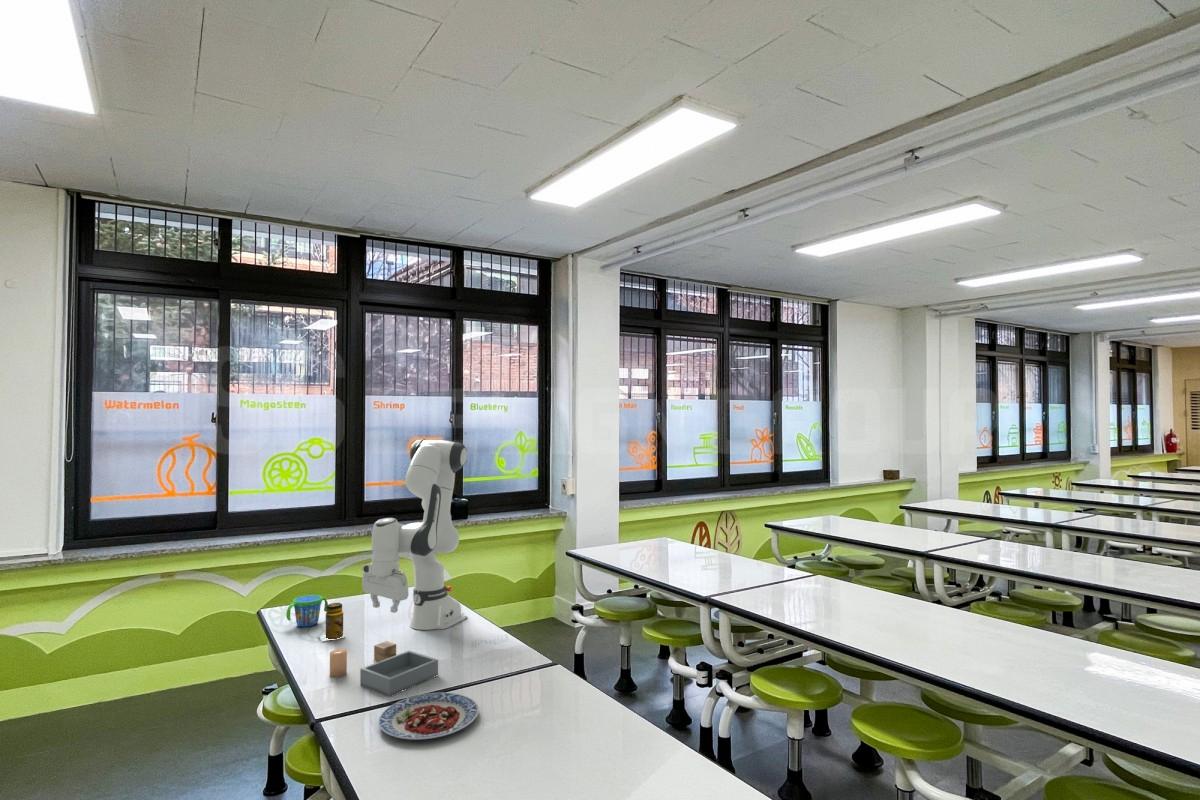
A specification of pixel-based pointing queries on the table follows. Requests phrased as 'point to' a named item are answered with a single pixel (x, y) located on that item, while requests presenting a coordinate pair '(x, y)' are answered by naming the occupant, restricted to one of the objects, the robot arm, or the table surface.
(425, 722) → the ceramic plate
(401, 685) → the tote
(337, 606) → the condiment
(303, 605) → the snack cup
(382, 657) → the walnut cube
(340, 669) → the terracotta cylinder
